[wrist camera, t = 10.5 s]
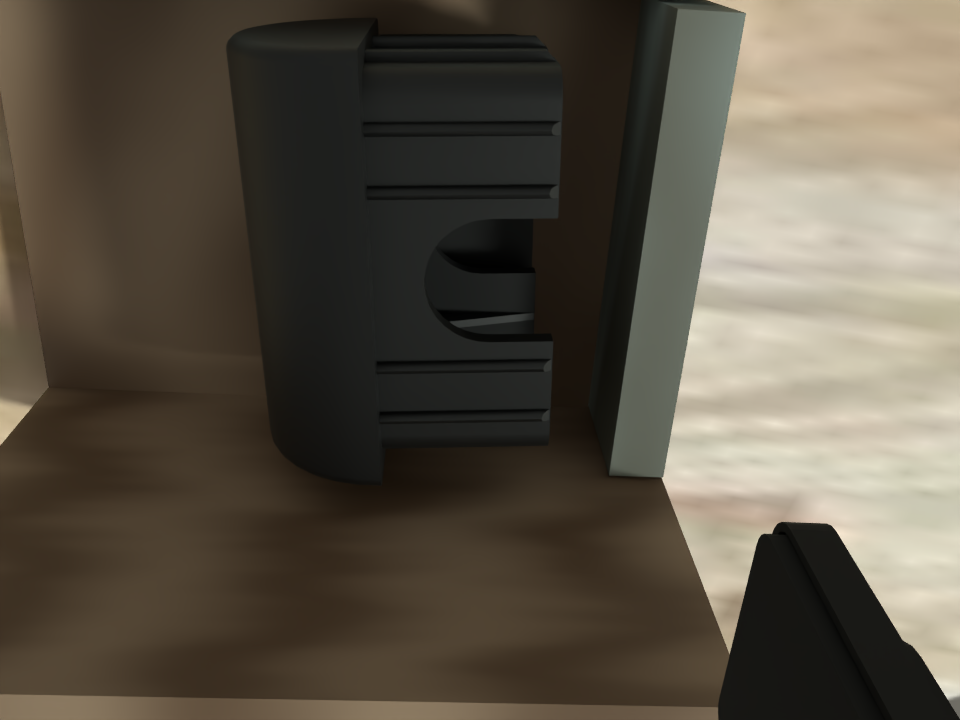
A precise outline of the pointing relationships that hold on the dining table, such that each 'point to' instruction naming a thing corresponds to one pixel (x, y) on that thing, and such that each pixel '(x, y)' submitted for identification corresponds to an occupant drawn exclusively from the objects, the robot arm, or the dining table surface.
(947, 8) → the dining table surface
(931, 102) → the dining table surface
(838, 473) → the dining table surface
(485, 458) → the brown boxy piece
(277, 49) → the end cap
